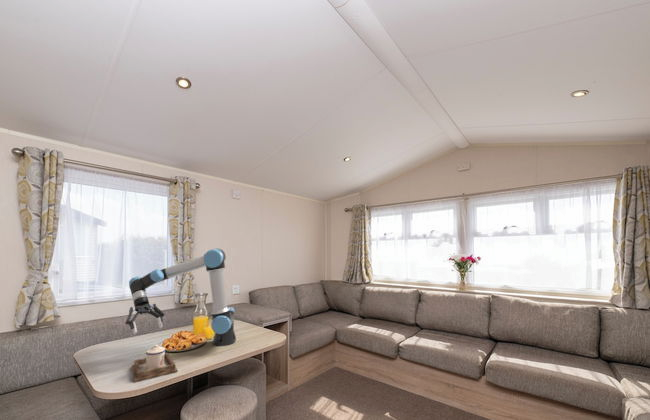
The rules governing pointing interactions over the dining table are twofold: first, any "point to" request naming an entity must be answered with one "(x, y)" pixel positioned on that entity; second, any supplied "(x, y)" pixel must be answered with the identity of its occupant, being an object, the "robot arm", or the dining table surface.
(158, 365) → the teacup with lid
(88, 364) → the dining table surface
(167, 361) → the wooden serving tray
